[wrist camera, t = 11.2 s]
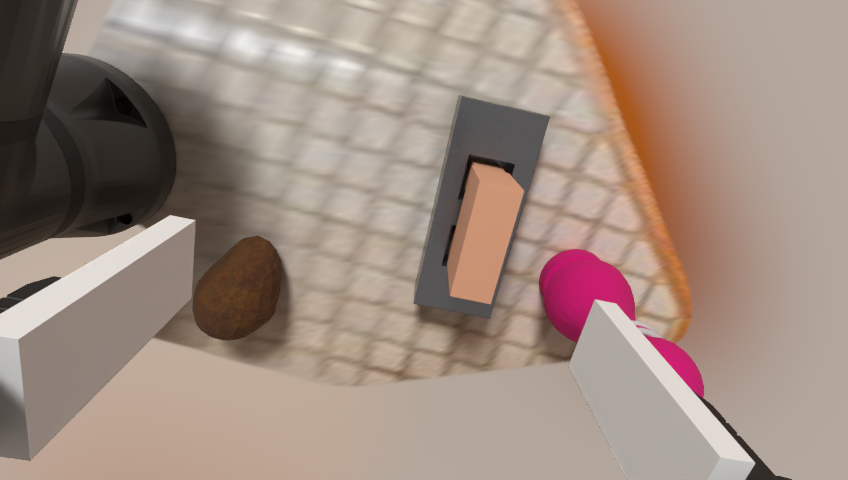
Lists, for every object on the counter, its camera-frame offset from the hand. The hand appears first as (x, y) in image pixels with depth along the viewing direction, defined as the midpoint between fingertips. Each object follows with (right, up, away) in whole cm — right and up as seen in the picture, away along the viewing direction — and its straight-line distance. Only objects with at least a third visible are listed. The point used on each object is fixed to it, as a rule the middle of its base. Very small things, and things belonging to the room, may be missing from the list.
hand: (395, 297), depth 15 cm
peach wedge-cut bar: (+5, +5, +26) cm, 26 cm away
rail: (+5, +5, +26) cm, 27 cm away
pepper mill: (+15, -2, +28) cm, 32 cm away
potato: (-16, -2, +29) cm, 33 cm away
